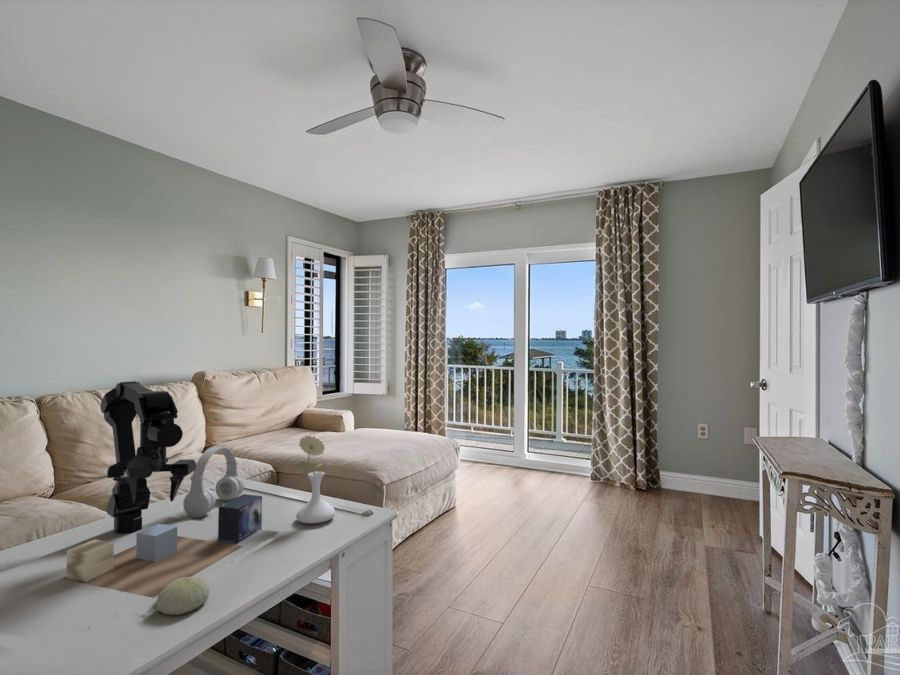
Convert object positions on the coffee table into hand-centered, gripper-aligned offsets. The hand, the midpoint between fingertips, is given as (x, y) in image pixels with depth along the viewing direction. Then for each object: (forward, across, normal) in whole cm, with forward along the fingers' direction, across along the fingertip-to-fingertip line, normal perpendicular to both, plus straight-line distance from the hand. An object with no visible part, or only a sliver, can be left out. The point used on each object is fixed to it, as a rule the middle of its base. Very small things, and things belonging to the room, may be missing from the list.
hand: (152, 501), depth 117 cm
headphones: (+13, +5, +31) cm, 34 cm away
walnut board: (+12, +6, -10) cm, 17 cm away
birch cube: (+11, -7, -13) cm, 19 cm away
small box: (+12, +21, +3) cm, 24 cm away
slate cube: (+11, +4, -6) cm, 13 cm away
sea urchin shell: (+12, +18, -28) cm, 36 cm away
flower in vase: (+12, +38, +14) cm, 43 cm away
